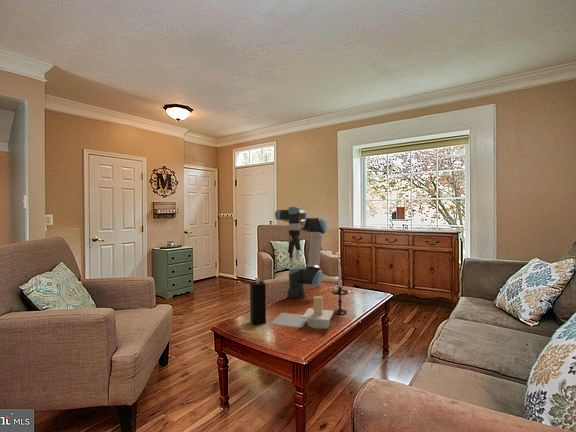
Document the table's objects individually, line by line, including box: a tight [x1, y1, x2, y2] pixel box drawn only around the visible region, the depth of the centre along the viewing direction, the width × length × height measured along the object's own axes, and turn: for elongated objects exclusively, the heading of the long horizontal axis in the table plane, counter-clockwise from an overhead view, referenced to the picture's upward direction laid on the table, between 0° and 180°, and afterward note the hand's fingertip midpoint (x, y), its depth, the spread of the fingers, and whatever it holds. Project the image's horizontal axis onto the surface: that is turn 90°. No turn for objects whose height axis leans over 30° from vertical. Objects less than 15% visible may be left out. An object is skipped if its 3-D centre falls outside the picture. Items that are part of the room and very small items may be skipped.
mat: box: [269, 312, 307, 328], centre depth 185 cm, size 20×20×1 cm
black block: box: [249, 277, 267, 326], centre depth 181 cm, size 8×8×28 cm
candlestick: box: [331, 261, 349, 316], centre depth 198 cm, size 11×11×35 cm
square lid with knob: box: [302, 295, 334, 321], centre depth 177 cm, size 16×16×11 cm
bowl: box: [306, 319, 331, 330], centre depth 177 cm, size 13×13×6 cm
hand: (294, 261), depth 199 cm, fingers open, 13 cm apart
